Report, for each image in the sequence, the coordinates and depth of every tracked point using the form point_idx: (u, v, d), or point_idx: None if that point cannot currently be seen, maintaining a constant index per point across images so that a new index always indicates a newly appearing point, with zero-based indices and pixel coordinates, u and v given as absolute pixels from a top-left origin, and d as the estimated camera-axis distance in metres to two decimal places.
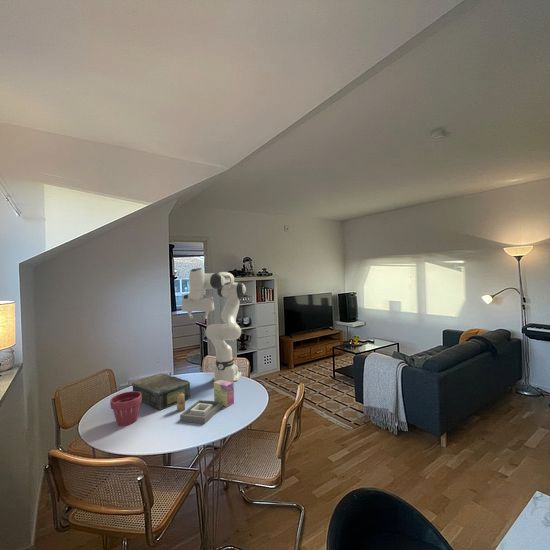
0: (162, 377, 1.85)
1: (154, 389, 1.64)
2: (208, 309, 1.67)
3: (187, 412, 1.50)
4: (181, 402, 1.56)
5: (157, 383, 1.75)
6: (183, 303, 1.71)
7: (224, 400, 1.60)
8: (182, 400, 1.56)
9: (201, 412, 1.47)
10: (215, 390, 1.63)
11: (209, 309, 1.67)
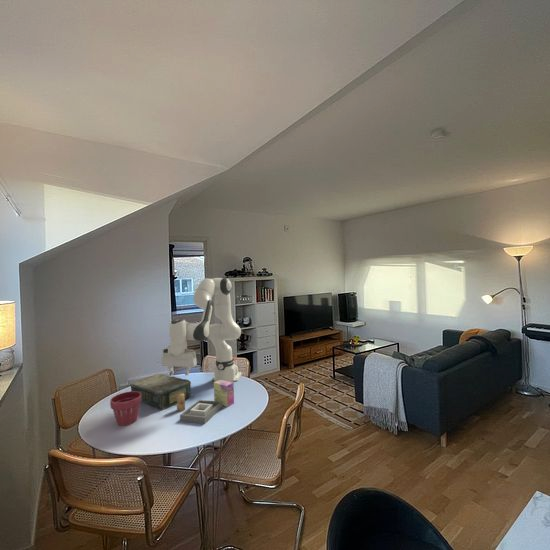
0: (161, 377, 1.85)
1: (155, 389, 1.64)
2: (189, 365, 1.54)
3: (187, 412, 1.50)
4: (181, 402, 1.56)
5: (157, 383, 1.75)
6: (163, 357, 1.58)
7: (224, 399, 1.60)
8: (182, 400, 1.56)
9: (201, 412, 1.47)
10: (215, 390, 1.63)
11: (191, 365, 1.54)
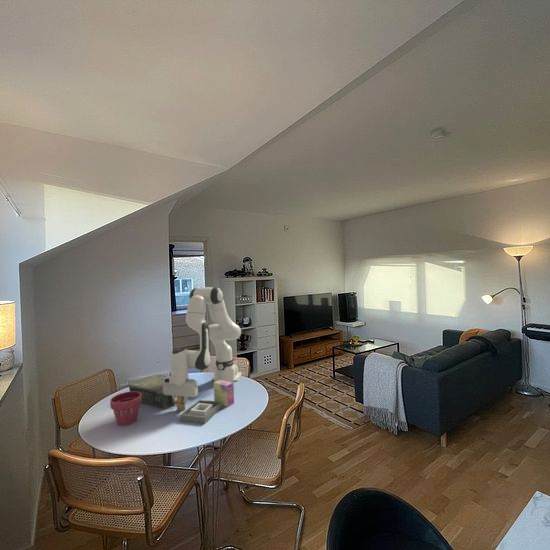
0: (159, 377, 1.84)
1: (157, 389, 1.64)
2: (191, 395, 1.54)
3: (187, 412, 1.50)
4: (181, 402, 1.56)
5: (157, 383, 1.74)
6: (164, 386, 1.58)
7: (224, 399, 1.60)
8: (182, 400, 1.56)
9: (201, 412, 1.47)
10: (215, 390, 1.63)
11: (192, 395, 1.54)
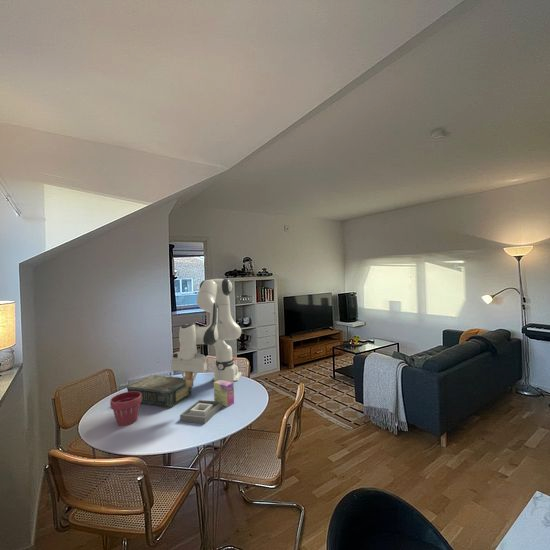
0: (156, 378, 1.84)
1: (160, 389, 1.65)
2: (200, 370, 1.51)
3: (187, 412, 1.50)
4: (189, 378, 1.53)
5: (157, 384, 1.74)
6: (173, 362, 1.55)
7: (224, 399, 1.60)
8: (191, 376, 1.53)
9: (201, 412, 1.47)
10: (215, 390, 1.63)
11: (201, 370, 1.50)
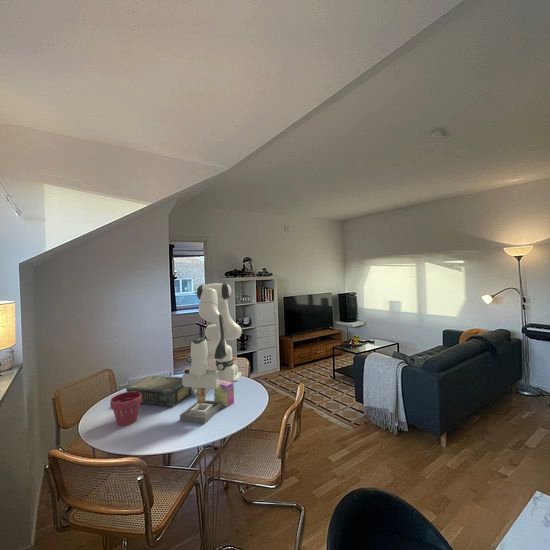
0: (155, 378, 1.83)
1: (161, 388, 1.65)
2: (212, 387, 1.48)
3: (187, 412, 1.50)
4: (201, 394, 1.50)
5: (157, 384, 1.74)
6: (184, 378, 1.52)
7: (224, 400, 1.60)
8: (202, 392, 1.50)
9: (201, 412, 1.47)
10: (215, 390, 1.63)
11: (213, 387, 1.48)
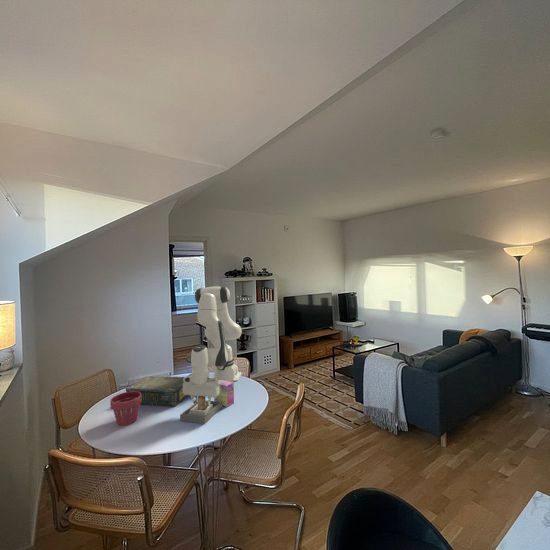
0: (154, 379, 1.82)
1: (163, 388, 1.65)
2: (212, 395, 1.48)
3: (187, 412, 1.50)
4: (202, 404, 1.50)
5: (157, 384, 1.74)
6: (184, 386, 1.52)
7: (224, 399, 1.60)
8: (203, 402, 1.50)
9: (201, 412, 1.47)
10: None
11: (214, 395, 1.48)
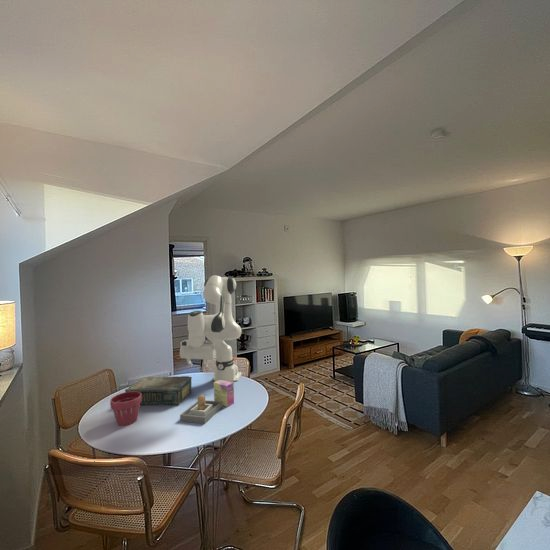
0: (152, 379, 1.81)
1: (165, 388, 1.66)
2: (209, 358, 1.53)
3: (187, 412, 1.50)
4: (202, 404, 1.50)
5: (157, 384, 1.73)
6: (181, 350, 1.57)
7: (224, 399, 1.60)
8: (203, 402, 1.50)
9: (201, 412, 1.47)
10: (215, 390, 1.63)
11: (210, 358, 1.52)
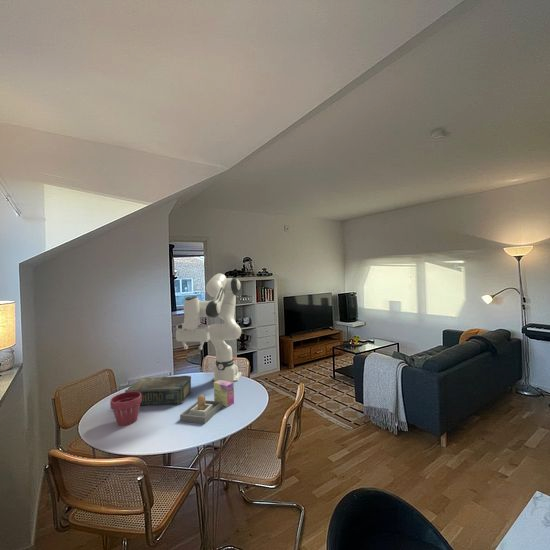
0: (150, 380, 1.81)
1: (167, 387, 1.66)
2: (203, 340, 1.60)
3: (187, 412, 1.50)
4: (202, 404, 1.50)
5: (157, 384, 1.73)
6: (177, 333, 1.65)
7: (224, 400, 1.60)
8: (203, 402, 1.50)
9: (201, 412, 1.47)
10: (215, 390, 1.63)
11: (204, 340, 1.60)
